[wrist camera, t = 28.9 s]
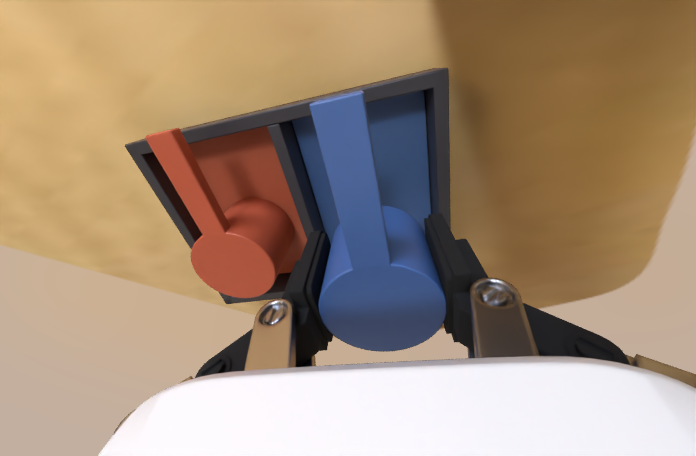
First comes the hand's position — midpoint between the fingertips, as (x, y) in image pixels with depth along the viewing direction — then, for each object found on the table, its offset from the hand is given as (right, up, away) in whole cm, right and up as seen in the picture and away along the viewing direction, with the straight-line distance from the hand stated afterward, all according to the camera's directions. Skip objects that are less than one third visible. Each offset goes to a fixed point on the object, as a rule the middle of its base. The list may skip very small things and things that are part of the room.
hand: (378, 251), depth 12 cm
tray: (-4, +3, +4) cm, 6 cm away
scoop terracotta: (-8, +3, +3) cm, 9 cm away
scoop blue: (0, +2, -1) cm, 2 cm away
